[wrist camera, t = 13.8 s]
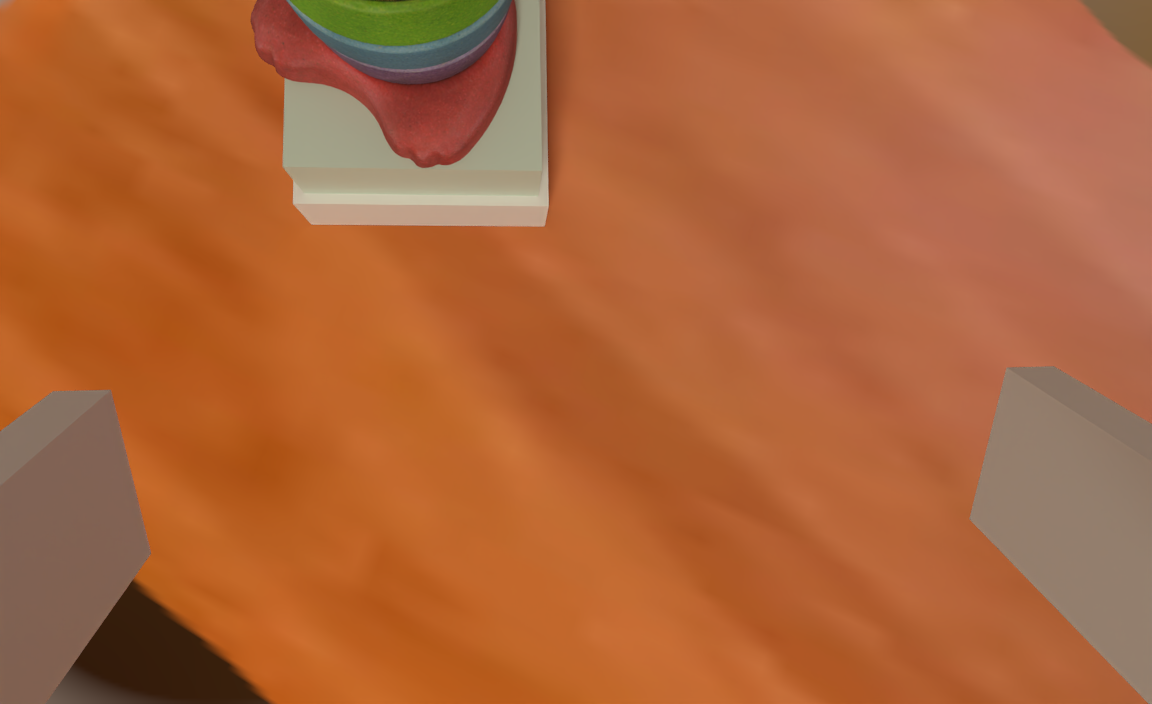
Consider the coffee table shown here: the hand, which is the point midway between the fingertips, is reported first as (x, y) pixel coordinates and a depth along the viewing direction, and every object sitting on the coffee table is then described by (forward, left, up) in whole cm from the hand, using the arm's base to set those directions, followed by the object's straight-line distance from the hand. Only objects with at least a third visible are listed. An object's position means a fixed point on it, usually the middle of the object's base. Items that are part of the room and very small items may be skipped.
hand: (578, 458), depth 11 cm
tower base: (+5, -18, -28) cm, 33 cm away
